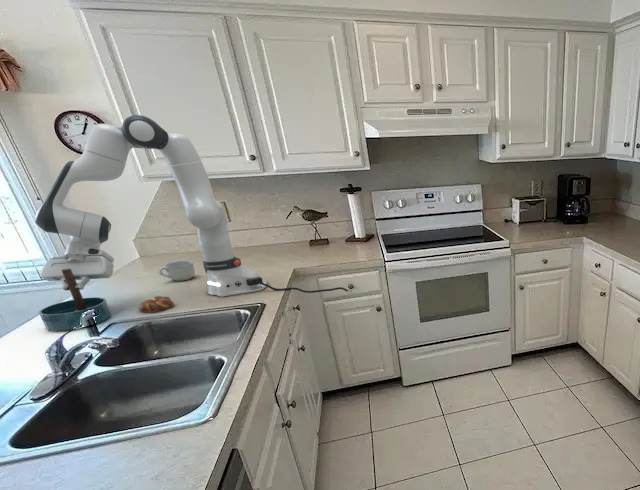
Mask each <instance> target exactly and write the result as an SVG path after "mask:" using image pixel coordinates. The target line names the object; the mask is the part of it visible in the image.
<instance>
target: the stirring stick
mask: <svg viewBox="0 0 640 490" xmlns="http://www.w3.org/2000/svg"><path fill="white" fill-rule="evenodd" d="M61 271H62V273H63V276H64V278H65V280H66V283H67V285H68V287H69V290H68V291H69V292H70V294H71V297H72V300H74V302H75V304H76V306H77V309H75V310H74V311H80V310H84V309H88V308H91V307H86V304H85V302H84V300H83V298H84V297H83V295H82V293H81V290H77V289H76V288H75V286H76V284H77V280H75V278H74V275H73V273H72V271H71V269H63V270H61Z"/></svg>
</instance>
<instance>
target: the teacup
mask: <svg viewBox="0 0 640 490" xmlns="http://www.w3.org/2000/svg"><path fill="white" fill-rule="evenodd" d="M163 270H165V271H166V273H167V274H165V273H163ZM195 273H196V270H195V266H194V262H193V260H185V259H184V260H183V259H182V260H175V261H170V262H167V263H165V264H164V266H161V267H159V269H158V274H159V275H160V276H162V277H165V278H168V279H171V280H173V281H176V282H183V281H189V280H191V279H192V278H194V276H195Z"/></svg>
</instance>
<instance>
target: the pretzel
mask: <svg viewBox="0 0 640 490" xmlns="http://www.w3.org/2000/svg"><path fill="white" fill-rule="evenodd" d="M174 304H175V303H174V302H173V300H172V299H171V297H169V296H161V295H156V296H154V297H153V298H151V299H146V300H144V301H142V302H140V303H139V304H138V307H137V308H138V310H139V311H140V312H143V313H156V312H157V313H158V312H163V311H165V310H167V309H171V308H173V307H174Z"/></svg>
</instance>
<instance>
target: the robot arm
mask: <svg viewBox="0 0 640 490" xmlns="http://www.w3.org/2000/svg"><path fill="white" fill-rule="evenodd" d="M133 148H135V149H144V150H153V149H154V150H157V151H159V152H160V154H162V156H163V158H164V159H165V161H166V164H167V166H168V168H169V170H170V173H171V175H172V177H173V179H174V182H175V184H176V186H177V189H178V193H179V195H180V199H181V202H182V205H183V208H184V211H185V213H186V218H187V221H188V222H189V223H190V224H191V225H192V226H193V227H195V228H196V231H197V237H198V238H197V239H198V247H199V249H200V252H201V256H202V259H203V260H202V266H203V269H204V272H205V274H206V277H207V285H208V291H207V294H209V295H212V296H217V297H227V296H228V297H229V296H236V295H242V294H248V293H255V292H260V291H262V290H264V289H265V288H266V287H267V288H269V289H271V290H273V291H278V292H279V291H291V290H296V291H299V292H302V293H306V294H313V293H314V294H315V293H321V292H332V291H338V290H342V291H345V292H349V290H348V289H347V288H345V287H342V286H337V287H333V288H323V289H316V290H304V289H301V288H300V287H284V288H277V287H273V286H272V285H269V284H268V282H267V280H264V279H263V278H262V277H261V276H260V275H259V273H258V272H257V271H256V270H254V269H251V268H249V267H247V266H245V265H243V264H242V261H241V257H236V256H235V254H234V252H233V247H232V243H231V239H230V233H229V226H228V221H227V215H226V211H225V208H224V206H223V204H222V203H221V202H220V201H218V200H217V199H216V198H215V195H214V192H213V189H212V184H211V181H210V179H209V175H208V173H207V171H206V168H205V166H204V164H203V162H202V159H201V157H200V154H199V153H198V151H197V149H196V147H195V146H194V144H193V143H192V141H191V140H190V138H189V137H188V136H187V135H185V134H183V133H179V132H167V131H166V130H165V129H164V128H162V127H161V126H160V125H159V124H158V123H157V122H156V121H154V120H153V119H151V118H149V117H148V116H145V115H140V114H135V115H134V114H133V115H130V116H128V117H126V118H125V119H124V120H123V122H122V124H121V126H115V125H113V124H108V123H97V124H95V125H93V126H92V128H91V130H90V132H89V134H88V137H87V138H86V142H85V145H84V148H83V151H82V154H81V155H80V156H79V157H78V158H77V159H75V160H69V161H68V162H66V163H65V165H63V167H62V169H61V170H60V173H59V174H58V176H57V178H56V179H55V181H54V183H53V186H52V187H51V189H50V191H49V193H48V194H47V196H46V198H45V200H44V202H43V203H42V204H41V205H40V206H39V208H38V209H37V211H36V213H35V216H34V223H35V224H36V225H37V227H38V228H39V229H40V230H42V231H43V232H44V233H45V232H46V233H51V234H57V235H59V234H60V235H64V236H65V235H66V236H69V241H68V243H67V244H66V247H65V251H64V253H63V256H52V257H51V258H49V259H46V261H45V263H44V265H43V266H42V268H41V271H40V277H41V278H42V279H43V280H45V281H47V282H61V283H62V290H63V291H70V290H69V287H68V285H67V283H66V280H65V278H64V276H63V273H62V271H61V270H63V269H71V271H72V273H73V275H74V278H75V280H76V281H79V282H78V283H77V282H76V283H77V284H76V286H75V288H76V289H77V290H80V291H81V290H84V288H85V286H86V285H87V284H88V283H89V282H90V281H91V280H98V279H100V280H101V279H109V278H111V277H112V276H113V273H114V261H115V258H114V257H113V256H112V255H111V254H110V253H108V252H106V251H105V250H103V249H101V246H102V244H103V243H106V242H107V241H108V240H109V233H110V231H111V229H112V224H111V222H110V221H109V220H108V218H107V217H105V216H104V215H102V214H97V213H93V212H89V211H84V210H80V209H76V208H71V207H68V206H65V205H64V204H63V203H64V202H65V200H66V198H67V196H68V194H69V193H70V190H71V189H72V187H73V185H75V184H76V183H81V182H108V181H114V180H117V179H119V178H120V177H121V176H122V175H123V173H124V170H125V168H126V165H127V161H128V156H129V154H130V151H132V149H133Z"/></svg>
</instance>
